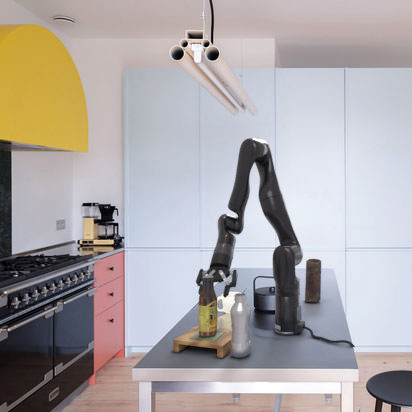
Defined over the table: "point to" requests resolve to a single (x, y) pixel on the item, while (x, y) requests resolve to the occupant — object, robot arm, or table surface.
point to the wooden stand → (205, 341)
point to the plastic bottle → (240, 327)
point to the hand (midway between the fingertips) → (212, 296)
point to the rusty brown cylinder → (313, 280)
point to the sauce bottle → (207, 308)
